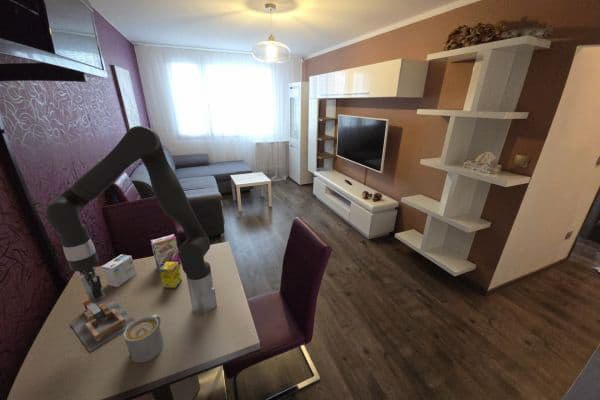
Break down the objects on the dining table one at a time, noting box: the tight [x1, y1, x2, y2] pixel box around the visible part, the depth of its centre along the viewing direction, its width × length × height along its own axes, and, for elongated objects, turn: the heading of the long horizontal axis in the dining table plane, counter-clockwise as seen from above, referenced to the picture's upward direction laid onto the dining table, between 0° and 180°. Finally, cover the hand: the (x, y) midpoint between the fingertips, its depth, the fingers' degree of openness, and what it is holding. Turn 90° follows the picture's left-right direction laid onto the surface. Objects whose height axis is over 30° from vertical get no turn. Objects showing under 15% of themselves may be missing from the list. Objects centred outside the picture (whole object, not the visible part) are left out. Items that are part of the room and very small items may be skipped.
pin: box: [81, 297, 103, 320], centre depth 100 cm, size 11×3×4 cm, turn 56°
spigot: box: [80, 277, 106, 304], centre depth 88 cm, size 4×4×11 cm
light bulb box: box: [101, 254, 137, 288], centre depth 119 cm, size 11×7×11 cm, turn 165°
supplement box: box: [159, 262, 182, 290], centre depth 116 cm, size 6×6×11 cm
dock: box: [70, 300, 136, 352], centre depth 96 cm, size 20×15×4 cm
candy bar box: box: [150, 233, 181, 272], centre depth 129 cm, size 11×5×16 cm, turn 130°
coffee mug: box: [123, 314, 164, 364], centre depth 87 cm, size 13×10×10 cm
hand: (95, 293), depth 89 cm, fingers closed on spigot, 4 cm apart
